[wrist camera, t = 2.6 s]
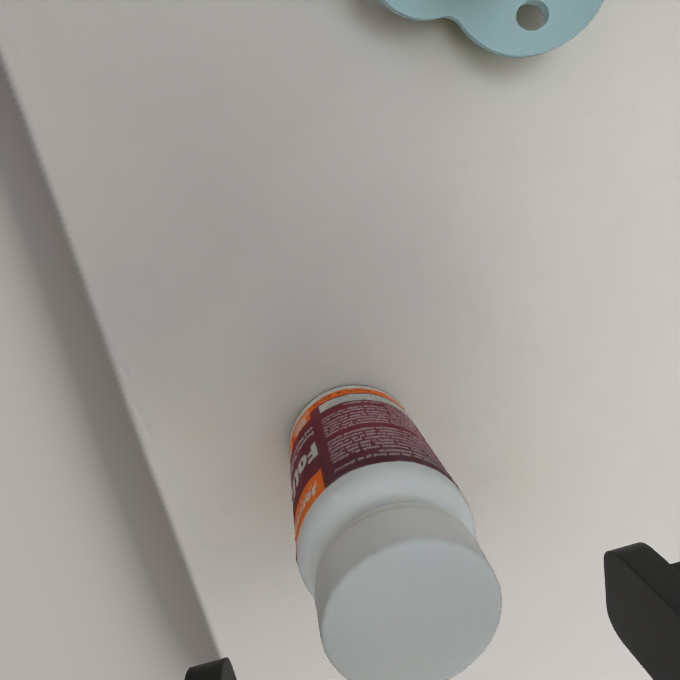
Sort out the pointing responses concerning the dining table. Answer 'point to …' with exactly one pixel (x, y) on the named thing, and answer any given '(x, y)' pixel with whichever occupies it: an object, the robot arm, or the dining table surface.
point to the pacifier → (505, 21)
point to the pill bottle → (386, 543)
